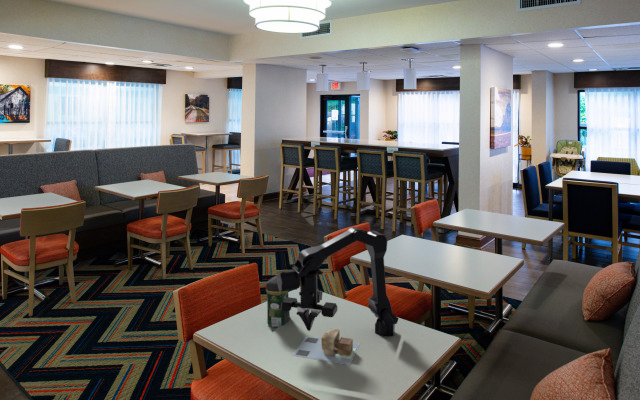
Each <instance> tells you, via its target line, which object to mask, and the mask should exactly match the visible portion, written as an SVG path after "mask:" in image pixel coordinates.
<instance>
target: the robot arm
mask: <svg viewBox="0 0 640 400" xmlns="http://www.w3.org/2000/svg"><path fill="white" fill-rule="evenodd" d="M357 241H358V242H359V243H360V242H361V243H362V244H365V247H366V251H367V253H368V255H369V258H370V267H371V268H370V269H371V271H370V272H371V279H372V280H371V282H372V292H373V293H372V295H371V297H368V298H367V301H368V307H367V308H368V309H369V310H370V311H371V313H373V314H374V317H375V318H377V319H376V321H375V323H374V333H375V334H377V335H379V336H382V337H386V338H387V337H394V335H395V333H396V332H395V331H396V329H395V328H396V325H397V324H398V321H399V317H398V316H396V315H395V314H394V313H393V309H392V304H391V301H390V300H389V297H388V294H387V284H386V271H385V270H386V269H385V255H386V253H387V249H388V239H387V237H386V236H385V235H384V234H382V233H380V232H378V231H376V230H370V231H367V230H365V229H360V228H357V227H355V226H352V227H350V228H348V230H346V231H344V232H342V233H341V234H338V235H336V236H334V237H333V238H331V239H329V240H328V241H325V242H324V243H322V244H320V245H316V246H310V247H308V248H305V249H302V250H301V251H299V253H298V256H297V259H296V261H295V262H294V263H293V265H292V266H291V268H292V269H288V270H279V271H278V278H277V284H278V289H279V291H280V292H283V291H288V292H290V291H296V290H297V291H298V289H300V290H299V292H298V294H299V295H298V296H300V301H298V299H297V298H296V297H289V296H288V297H287V298H286V299H285V300H284V301H283V302H282V303H281V310H282V311H288V312H290V311H291V310H292V308H295V309H297V312H296V316H299V317H300V319H301V320H302V322H303V324H304V326H305V328H306V330H307V331H308V332H310V331H312V330H311V329H312V327H313V325H314V321H315V319H316V318H317V317H318V316H319V315H320V314H321V315H322V316H323V317H324V318H325V317H326V318H334V316H335V315H336V313H337V312H338V305H337V303H334V302H328V301H326V302H325V303H324V304H320V303H321V301H322V300H323V293H324V291H322V290H319V287H318V276H319V275H323V274H324V271H322V270H321V269H320V266H321V265H322V264H323V263H324V262H325V261H326V260H327V258H329V257H330V256H333V255H334V254H336V253H337V252H339V251H342V250H343V249H345V248H346V247H348V246H350V245H352V244H354V243H356V242H357Z"/></svg>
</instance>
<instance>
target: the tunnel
mask: <svg viewBox="0 0 640 400" xmlns="http://www.w3.org/2000/svg"><path fill="white" fill-rule="evenodd" d="M340 331H341V330H340V329H339V328H338V329H337V328H330V330H329V331H328V332H327V333H328V334H327V336H326V337H325V339H324V344H325V356H331V357H333V356H334V346H336V347H338V342H339V340H340V339H341V337H340V334H341V332H340Z"/></svg>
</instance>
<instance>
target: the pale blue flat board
mask: <svg viewBox="0 0 640 400" xmlns="http://www.w3.org/2000/svg"><path fill="white" fill-rule="evenodd" d="M360 344H361V343H356V342H353V350H352V352H351V354H350V356H349V355H343V354H338V352H334V356H333V357H331V356H325V350H323V349H322V337H315V336H308V335H306V336H305V337H304V339H303V340H302V341H301V342H300V344H299V345H298V347H297V348H296V349H295V351H294V352H293V353H292V356H294V357H300V358H306V359H310V360H311V359H312V360H318V361H324V362H329V363H336V364H341V365H347V366H350V365H351V363H352V361H353V359H354V358H355V355H356V353H357V352H358V349H359V347H360Z"/></svg>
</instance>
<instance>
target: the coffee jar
mask: <svg viewBox="0 0 640 400" xmlns="http://www.w3.org/2000/svg"><path fill="white" fill-rule="evenodd" d="M278 275H279V274H278ZM278 275H275V276H273V277H271V278H270V279H268V280H267V281H266V283H265V292H266V305H267V306H266V307H267V308H266V309H267V310H266V311H267V316H266V317H267V318H266V319H267V323H266V324H267V325H268V326H270V327H271V328H276V329H278V328H279V326H280V327H281V326H284V325H286V324H287V323H288V322H289V320H290V319H291V317H290V316H291V314H290V311H289V312H288V311H282V310H281V303H282V302H283V301H284V300H285V299H286V298H287V297H289V291H283V292H280V291H279V289H278V284H277V278H278Z"/></svg>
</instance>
